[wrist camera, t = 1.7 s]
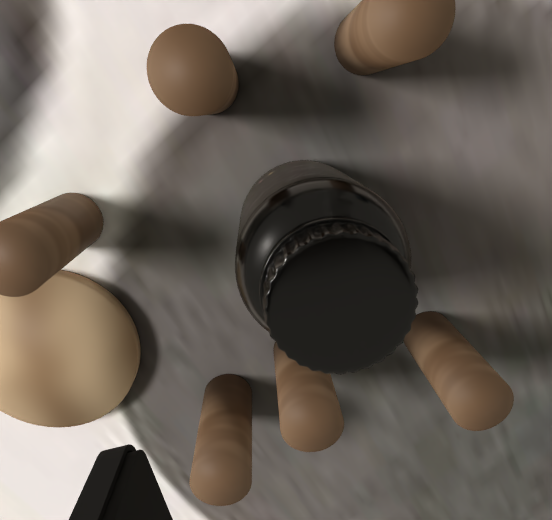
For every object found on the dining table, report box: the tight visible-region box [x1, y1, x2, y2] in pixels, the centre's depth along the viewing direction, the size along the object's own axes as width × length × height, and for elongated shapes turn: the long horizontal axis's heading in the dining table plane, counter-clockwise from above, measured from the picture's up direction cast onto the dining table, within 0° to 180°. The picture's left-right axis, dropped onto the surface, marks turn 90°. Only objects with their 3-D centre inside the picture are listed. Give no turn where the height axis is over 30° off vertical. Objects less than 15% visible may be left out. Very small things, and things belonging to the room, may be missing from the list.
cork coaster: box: [0, 270, 141, 427], centre depth 26 cm, size 10×10×1 cm
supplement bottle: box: [235, 160, 418, 375], centre depth 19 cm, size 7×7×12 cm
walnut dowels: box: [0, 0, 514, 506], centre depth 22 cm, size 21×21×7 cm
